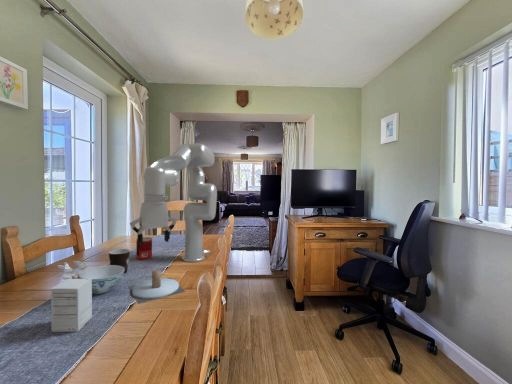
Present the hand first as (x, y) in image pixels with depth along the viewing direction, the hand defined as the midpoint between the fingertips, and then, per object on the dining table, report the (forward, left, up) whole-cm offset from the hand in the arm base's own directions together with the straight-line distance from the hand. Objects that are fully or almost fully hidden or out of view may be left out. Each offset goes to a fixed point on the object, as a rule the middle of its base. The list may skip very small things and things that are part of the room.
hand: (153, 242), depth 98 cm
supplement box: (+26, +11, -19) cm, 34 cm away
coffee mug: (+6, -29, -19) cm, 35 cm away
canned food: (-8, -45, -19) cm, 49 cm away
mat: (-1, +1, -19) cm, 19 cm away
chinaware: (+16, -10, -19) cm, 27 cm away
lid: (-1, +1, -18) cm, 18 cm away
